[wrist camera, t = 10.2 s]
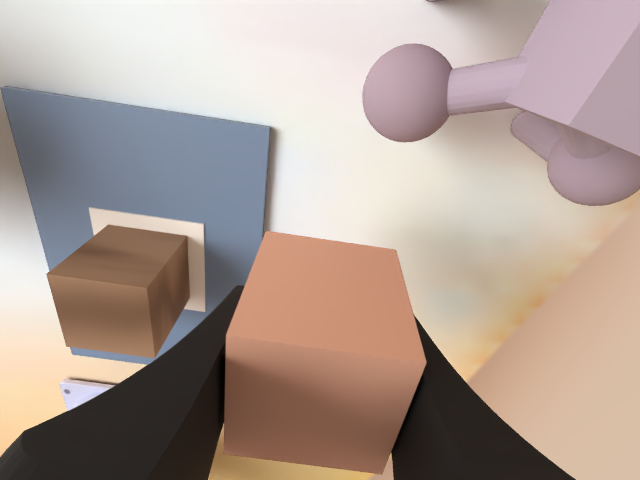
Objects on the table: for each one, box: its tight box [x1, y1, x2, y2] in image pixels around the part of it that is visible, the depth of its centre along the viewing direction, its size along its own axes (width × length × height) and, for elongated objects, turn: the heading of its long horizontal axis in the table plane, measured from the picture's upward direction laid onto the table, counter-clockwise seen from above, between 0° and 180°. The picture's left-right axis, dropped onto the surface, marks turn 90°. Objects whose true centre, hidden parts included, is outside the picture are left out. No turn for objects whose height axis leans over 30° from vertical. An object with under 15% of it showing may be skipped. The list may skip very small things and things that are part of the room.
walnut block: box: [47, 224, 190, 358], centre depth 20 cm, size 4×4×5 cm
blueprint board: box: [0, 86, 271, 365], centre depth 22 cm, size 18×13×1 cm
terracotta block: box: [224, 231, 427, 474], centre depth 11 cm, size 4×4×5 cm
